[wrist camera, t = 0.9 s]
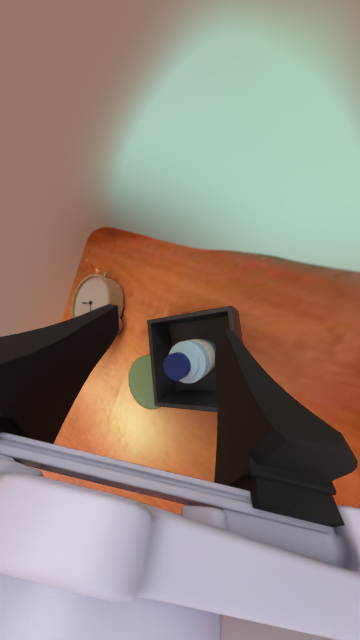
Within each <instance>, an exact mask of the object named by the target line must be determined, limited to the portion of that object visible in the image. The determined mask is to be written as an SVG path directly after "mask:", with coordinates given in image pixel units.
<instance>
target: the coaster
mask: <svg viewBox="0 0 360 640" xmlns="http://www.w3.org/2000/svg"><path fill="white" fill-rule="evenodd" d="M129 386H130V390H131V393H132V395H133V397H134V398H135V400H136V401H137V402H138V403H139V404H140V405H142V406H143V407H145V408H148V409H157V408H159V407H160V406H155V405H154V393H153V382H152V370H151V358H150V356H143V357H140V358H139V359H137V360H136V361H135V362H134V363H133V365H132V367H131V369H130V373H129Z"/></svg>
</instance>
